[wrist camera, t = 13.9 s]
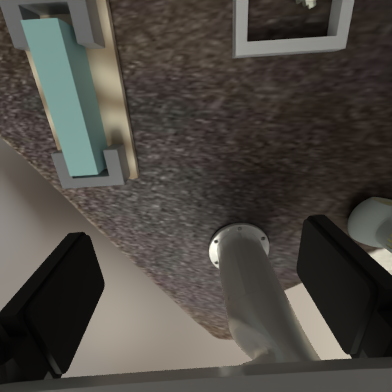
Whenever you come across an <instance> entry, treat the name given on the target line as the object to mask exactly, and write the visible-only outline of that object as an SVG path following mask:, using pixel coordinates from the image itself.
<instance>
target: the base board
mask: <svg viewBox="0 0 392 392" xmlns="http://www.w3.org/2000/svg"><path fill="white" fill-rule="evenodd" d="M96 3H97V8H98V13H99V18H100V23H101V28H102V34H103V39H104V44H105V48H103V49H89V48H87V47H85V49H86V53H87V58H88V62H89V66H90V71H91V75H92V79H93V84H94V88H95V93H96V97H97V101H98V106H99V110H100V114H101V119H102V123H103V127H104V132H105V136H106V141H107V145H108V147H109V146H110V145H112V144H124V146H125V151H126V156H127V161H128V166H129V171H130V177H129V179H131V178H138V177H139V175H140V174H139V169H138V163H137V157H136V152H135V146H134V141H133V135H132V129H131V124H130V118H129V112H128V107H127V101H126V96H125V90H124V84H123V79H122V73H121V67H120V62H119V56H118V50H117V45H116V39H115V34H114V28H113V22H112V17H111V11H110V5H109V0H96ZM46 18H59V19H60V20H62V21H64V22H66V23H67V24H69V25H71V26H73V22H72V18H71V14H57V15H42V16H40V19H46ZM26 53H27V56H28V59H29V62H30V65H31V68H32V71H33V75H34V78H35V81H36V84H37V87H38V90H39V93H40V96H41V99H42V102H43V105H44V108H45V111H46V114H47V118H48V121H49V124H50V127H51V130H52V133H53V136H54V139H55V142H56V145H57V148H58V150H61V146H60V143H59V139H58V136H57V133H56V130H55V127H54V124H53V121H52V117H51V114H50V111H49V108H48V105H47V102H46V99H45V95H44V92H43V89H42V86H41V83H40V80H39V77H38V73H37V70H36V67H35V64H34V61H33V58H32V55H31V52H29V51H26ZM105 169H107V167H106V168H105Z"/></svg>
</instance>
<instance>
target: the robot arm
mask: <svg viewBox="0 0 392 392" xmlns="http://www.w3.org/2000/svg"><path fill="white" fill-rule="evenodd" d="M268 253H269V241H268V238H267V236H266V235H265V233H264V232H263V231H262V230H261V229H260V228H259V227H257V226H255V225H252V224H249V223H234V224H230V225H227V226H225V227H223V228H221V229H220V230H219V231H217V232H216V233H215V235H214V236H213V237H212V239H211V241H210V244H209V256H210V259H211V261H212V263H213V264H214V265H215V266H216V267H217V268H218V269H219V271H220V277H221V283H222V289H223V295H224V301H225V307H226V312H227V319H228V325H229V329H230V332H231V335H232V337H233V338H234V340H235V342H236V343H237V345H238V346H239V347H240V348H241V349H242V350H243V351H244V352H245V353H246V354H247V355H248V356H249V357H250V358H252V359H253V360H252V361H249V362H246V363H243V364H242V365H238V366H223V367H208V368H194V369H180V370H165V371H150V372H137V373H124V374H109V375H96V376H82V377H69V378H61V376H62V374H64V373H66V372H67V370H68V369H69V367H70V364H71V362H72V360H73V358H74V355H75V353H76V351H77V349H78V346H79V344H80V342H81V339H82V337H83V335H84V333H85V331H86V328H87V326H88V323H89V321H90V319H91V317H92V315H93V312H94V310H95V308H96V306H97V303H98V301H99V299H100V297H101V294H102V292H103V290H104V279H103V275H102V272H101V269H100V266H99V263H98V260H97V257H96V254H95V251H94V247H93V244H92V241H91V238H90V236H89V235H86V234H85V233H84V232H77V233H69V234H68V235H67V236H66V237H65V238H64V239H63V240H62V241H61V243H60V244H59V245H58V246H57V248H55V249H54V251H53V252H52V253H51V254H50V255H49V256H48V257H47V259H46V260H45V261H44V262H43V263H42V264H41V265H40V267H39V268H38V269H37V270H36V271H35V272H34V273H33V275H32V276H31V277H30V278H29V279H28V280H27V282H26V283H25V284H24V285H23V286H22V287H21V288H20V290H19V291H18V292H17V293H16V294H15V295H14V296H13V298H12V299H11V300H10V301H9V302H8V303H7V305H6V306H5V307H4V308H3V309H2V310H1V311H0V392H392V275H391V274H390V273H389V272H388V271H386V270H385V269H384V268H383V267H382V266H381V265H380V264H379V263H378V262H376V261H375V260H374V259H373V258H372V257H371V256H370V255H369V254H368V253H366V252H365V251H364V250H363V249H362V248H361V247H360V246H359V245H357V244H356V243H355V242H354V241H353V240H352V239H351V238H350V237H349V236H347V235H346V234H345V233H344V232H343V231H342V230H341V229H340V228H339V227H337V226H336V225H335V224H334V223H333V222H332V221H331V220H330V219H328V218H327V217H326V216H325V215H312V216H309V217H308V218H307V219H305V220H304V222H303V229H302V235H301V242H300V248H299V255H298V261H297V274H298V276H299V278H300V279H301V281H302V283H303V284H304V286H305V288H306V289H307V291H308V293H309V294H310V296H311V298H312V300H313V301H314V303H315V304H316V306H317V308H318V310H319V311H320V313H321V315H322V316H323V318H324V319H325V321H326V323H327V325H328V326H329V328H330V330H331V331H332V333H333V335H334V336H335V338H336V340H337V341H338V343H339V345H340V346H341V348H342V350H343V351H344V352H345V353H346V354H350V356H351V357H352V359H334V360H321V359H320V358H319V356H318V354H317V353H316V351H315V350H314V348H313V346H312V345H311V343H310V341H309V340H308V338H307V336H306V334H305V332H304V331H303V329H302V327H301V325H300V323H299V321H298V319H297V317H296V315H295V313H294V311H293V309H292V307H291V304H290V303H289V300H288V298H287V296H286V294H285V292H284V290H283V288H282V286H281V284H280V281H279V279H278V277H277V275H276V273H275V271H274V269H273V267H272V265H271V263H270V260H269V258H268V256H267V255H268Z"/></svg>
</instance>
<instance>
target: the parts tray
mask: <svg viewBox="0 0 392 392" xmlns="http://www.w3.org/2000/svg"><path fill="white" fill-rule="evenodd" d="M353 5H354V0H332V6H331V12H330V18H329V25H328V31H327V37H312V38H297V39H282V40H267V41H252V42H247V25H248V0H233V46H232V58H244V57H259V56H274V55H288V54H303V53H318V52H333V51H338V50H341V49H345V47H346V42H347V37H348V31H349V26H350V21H351V15H352V10H353Z"/></svg>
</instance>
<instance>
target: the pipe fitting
mask: <svg viewBox="0 0 392 392" xmlns="http://www.w3.org/2000/svg"><path fill="white" fill-rule="evenodd" d="M300 2H302V4H303V7H305V6H307V7H308V9H310V8H312V7H314V6H316V0H296V4H299V3H300Z"/></svg>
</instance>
